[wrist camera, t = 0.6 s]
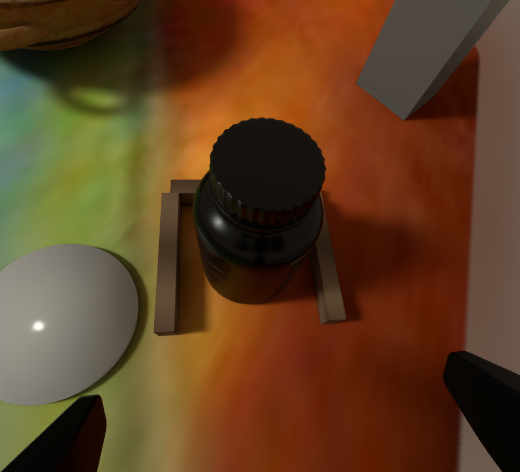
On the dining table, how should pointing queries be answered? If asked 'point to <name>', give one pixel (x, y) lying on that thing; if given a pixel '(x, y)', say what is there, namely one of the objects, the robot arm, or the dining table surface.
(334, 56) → the dining table surface
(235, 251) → the supplement bottle
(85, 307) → the coaster
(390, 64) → the perfume bottle
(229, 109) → the dining table surface
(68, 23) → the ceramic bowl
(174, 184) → the wooden u-shaped frame
